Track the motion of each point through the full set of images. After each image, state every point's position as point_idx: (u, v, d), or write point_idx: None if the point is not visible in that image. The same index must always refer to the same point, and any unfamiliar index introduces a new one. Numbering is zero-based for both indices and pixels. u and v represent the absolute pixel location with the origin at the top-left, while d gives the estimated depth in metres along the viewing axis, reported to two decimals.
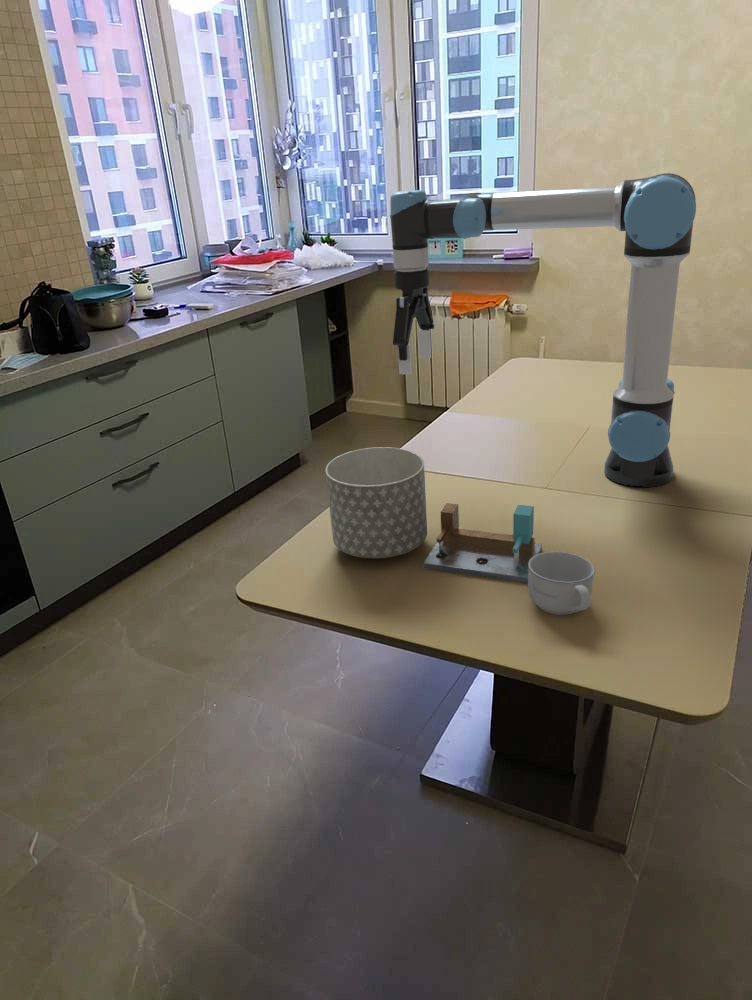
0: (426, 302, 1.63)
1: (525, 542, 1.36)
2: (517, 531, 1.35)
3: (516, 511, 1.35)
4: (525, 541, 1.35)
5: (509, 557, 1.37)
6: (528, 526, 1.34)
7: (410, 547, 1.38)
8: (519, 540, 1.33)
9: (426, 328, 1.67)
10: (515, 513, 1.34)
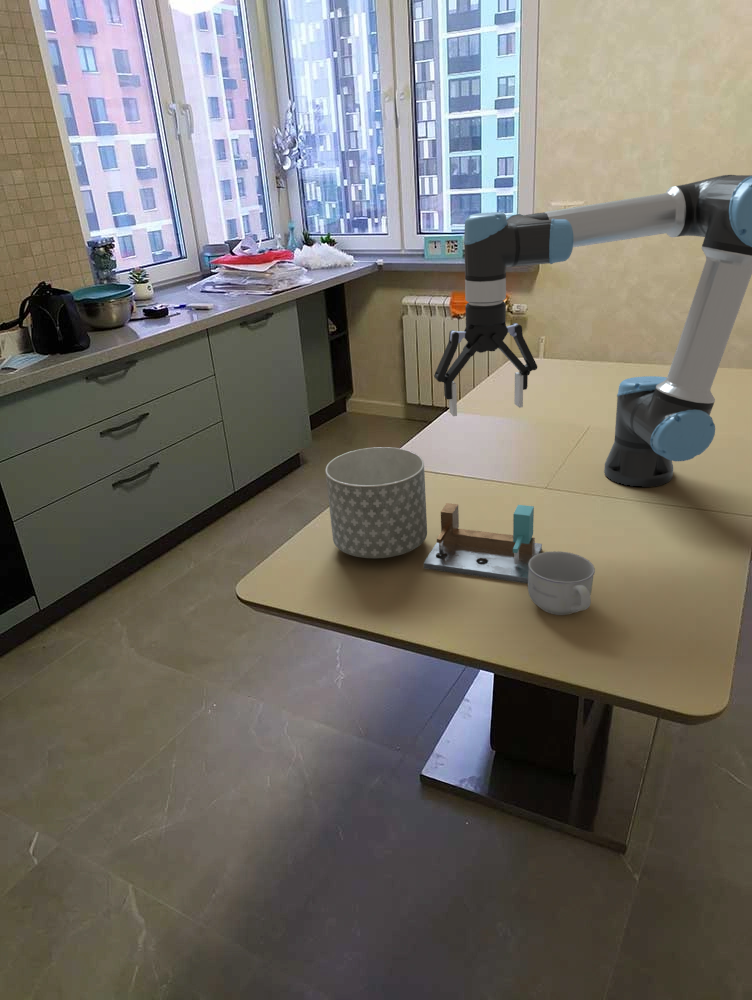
0: (519, 343, 1.39)
1: (525, 542, 1.36)
2: (517, 531, 1.35)
3: (516, 511, 1.35)
4: (525, 541, 1.35)
5: (509, 557, 1.37)
6: (528, 526, 1.34)
7: (410, 547, 1.38)
8: (519, 540, 1.33)
9: (521, 372, 1.42)
10: (515, 513, 1.34)
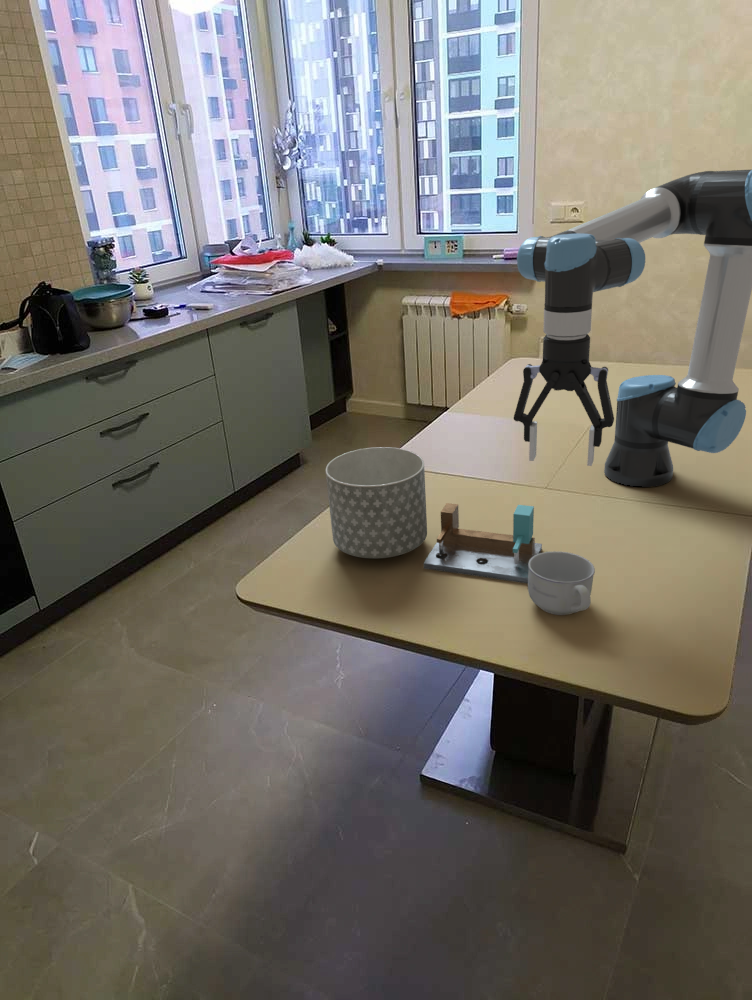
0: (598, 390, 1.19)
1: (525, 542, 1.36)
2: (517, 531, 1.35)
3: (516, 511, 1.35)
4: (525, 541, 1.35)
5: (509, 557, 1.37)
6: (528, 526, 1.34)
7: (410, 547, 1.38)
8: (519, 540, 1.33)
9: None
10: (515, 513, 1.34)
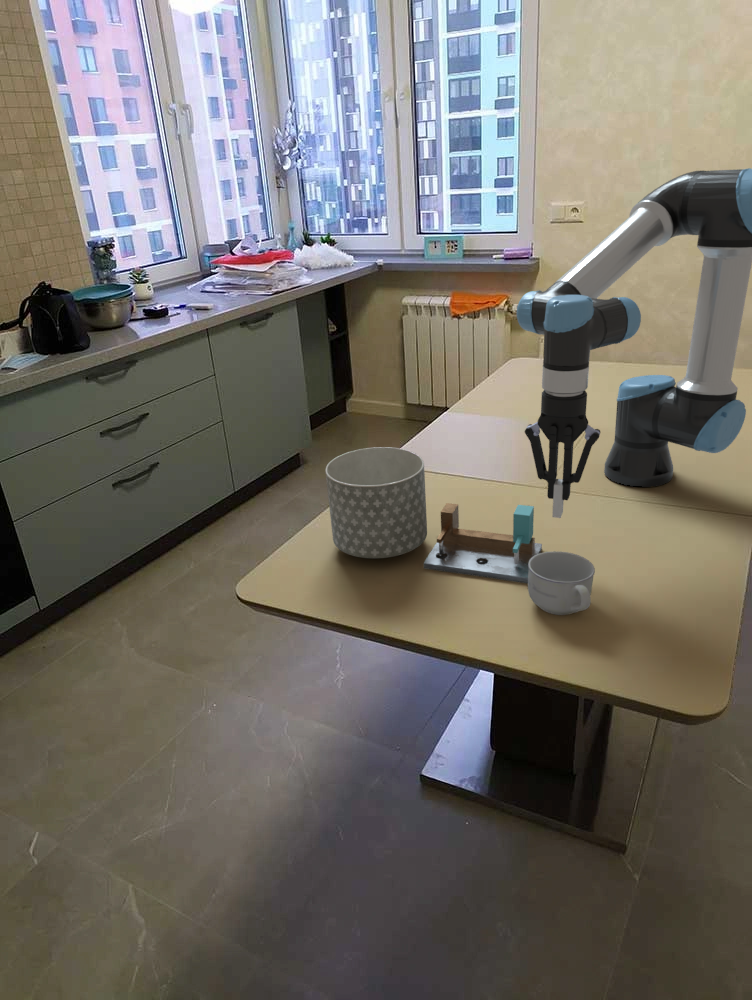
0: None
1: (525, 542, 1.36)
2: (517, 531, 1.35)
3: (516, 511, 1.35)
4: (525, 541, 1.35)
5: (509, 557, 1.37)
6: (528, 526, 1.34)
7: (410, 547, 1.38)
8: (519, 540, 1.33)
9: (562, 479, 1.29)
10: (515, 513, 1.34)
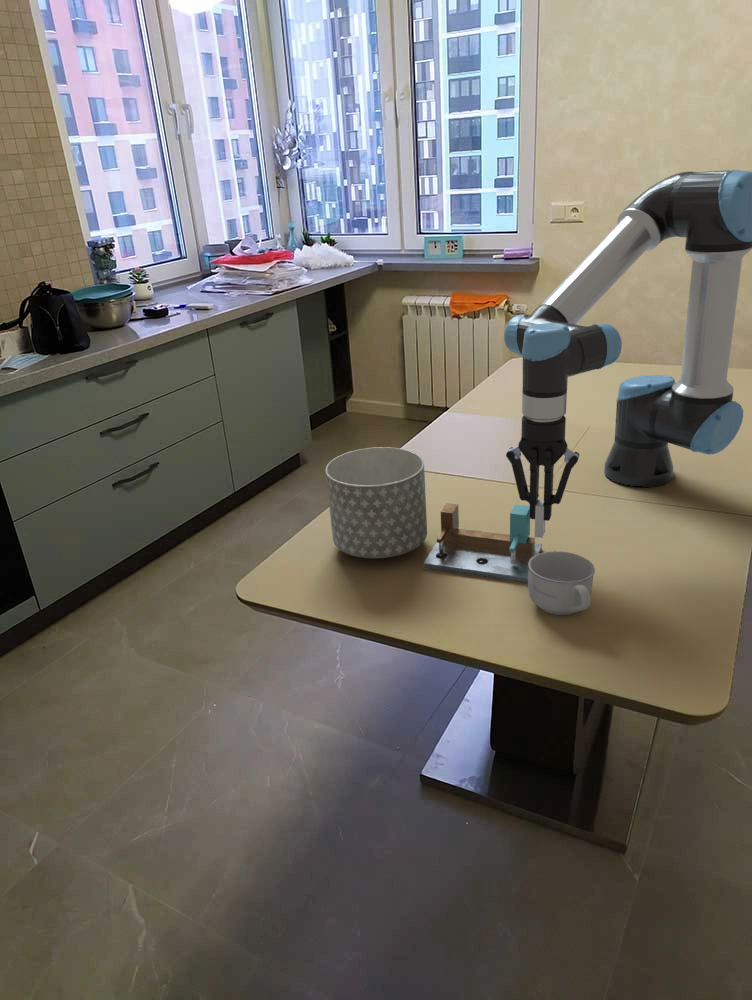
0: (563, 471, 1.28)
1: (522, 542, 1.36)
2: (514, 530, 1.35)
3: (513, 511, 1.35)
4: (522, 541, 1.36)
5: (509, 557, 1.37)
6: (525, 526, 1.34)
7: (410, 547, 1.38)
8: (516, 540, 1.34)
9: None
10: (512, 513, 1.34)
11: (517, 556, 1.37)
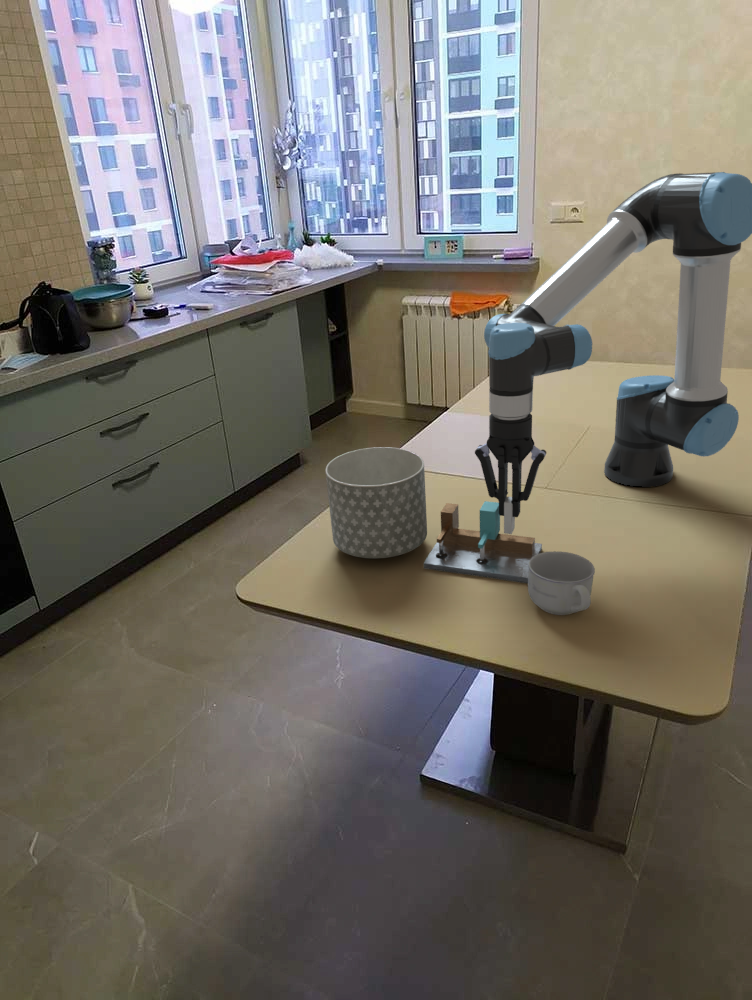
0: None
1: (491, 538, 1.38)
2: (484, 527, 1.37)
3: (482, 507, 1.37)
4: (491, 537, 1.38)
5: (509, 557, 1.37)
6: (494, 522, 1.36)
7: (410, 547, 1.38)
8: (485, 536, 1.36)
9: None
10: (481, 509, 1.36)
11: (517, 556, 1.37)
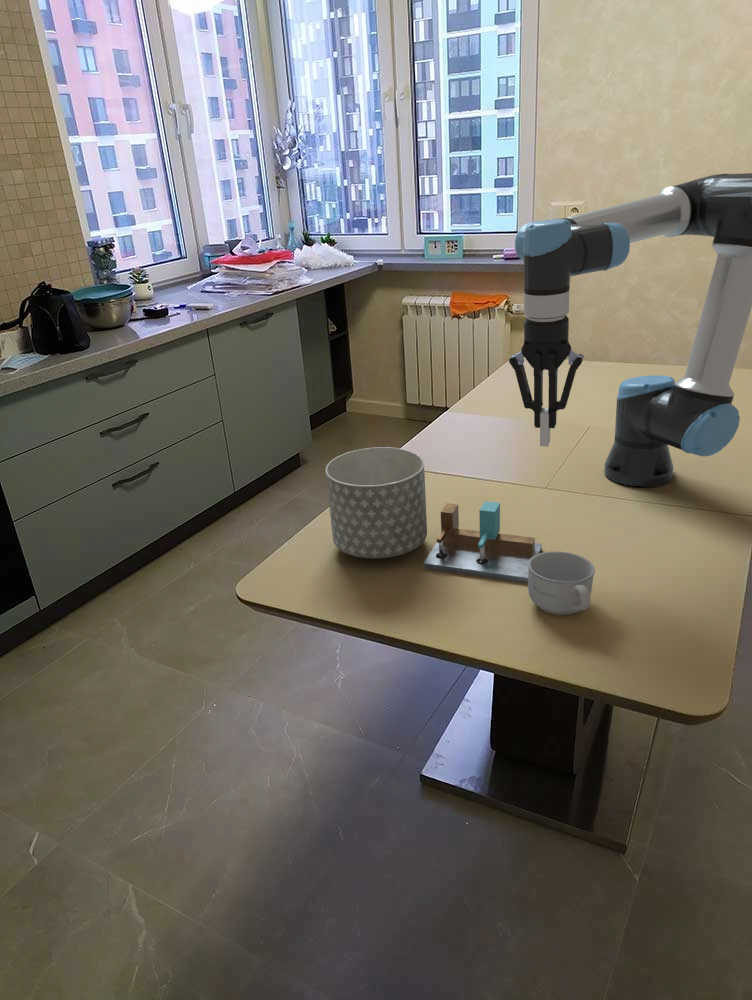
0: (567, 374, 1.26)
1: (491, 538, 1.38)
2: (483, 527, 1.37)
3: (482, 507, 1.37)
4: (491, 537, 1.38)
5: (509, 557, 1.37)
6: (494, 522, 1.36)
7: (410, 547, 1.38)
8: (485, 536, 1.36)
9: None
10: (481, 509, 1.36)
11: (517, 556, 1.37)
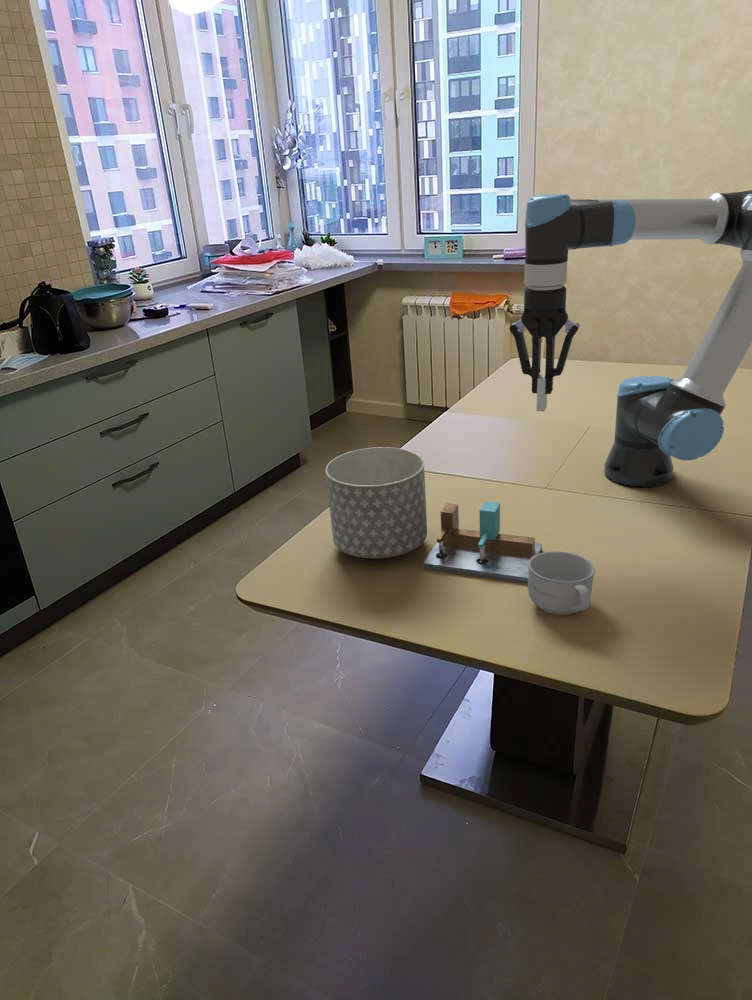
0: (564, 341, 1.34)
1: (491, 538, 1.38)
2: (483, 527, 1.37)
3: (482, 507, 1.37)
4: (491, 537, 1.38)
5: (509, 557, 1.37)
6: (494, 522, 1.36)
7: (410, 547, 1.38)
8: (485, 536, 1.36)
9: (545, 374, 1.38)
10: (481, 509, 1.36)
11: (517, 556, 1.37)
